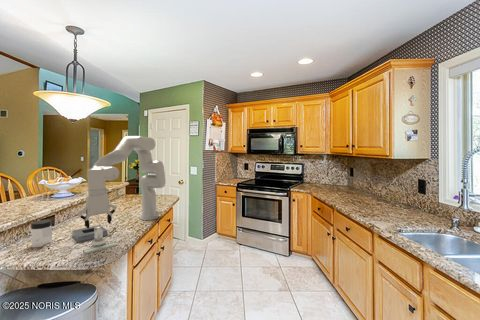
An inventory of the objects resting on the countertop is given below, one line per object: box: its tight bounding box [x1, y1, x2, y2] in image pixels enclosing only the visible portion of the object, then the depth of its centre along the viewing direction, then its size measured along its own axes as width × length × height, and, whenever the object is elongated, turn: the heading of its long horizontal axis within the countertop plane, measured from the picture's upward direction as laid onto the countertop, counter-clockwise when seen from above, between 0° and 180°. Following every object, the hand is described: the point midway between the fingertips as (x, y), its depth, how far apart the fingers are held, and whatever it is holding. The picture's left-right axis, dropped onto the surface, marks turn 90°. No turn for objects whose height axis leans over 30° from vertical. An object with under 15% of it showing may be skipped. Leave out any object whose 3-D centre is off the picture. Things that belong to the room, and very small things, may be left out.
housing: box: [71, 224, 108, 244], centre depth 130 cm, size 14×14×4 cm
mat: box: [82, 242, 118, 255], centre depth 118 cm, size 14×12×1 cm
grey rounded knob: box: [91, 225, 106, 248], centre depth 118 cm, size 6×6×9 cm
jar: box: [30, 219, 53, 248], centre depth 121 cm, size 9×8×12 cm
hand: (98, 225), depth 118 cm, fingers open, 9 cm apart
